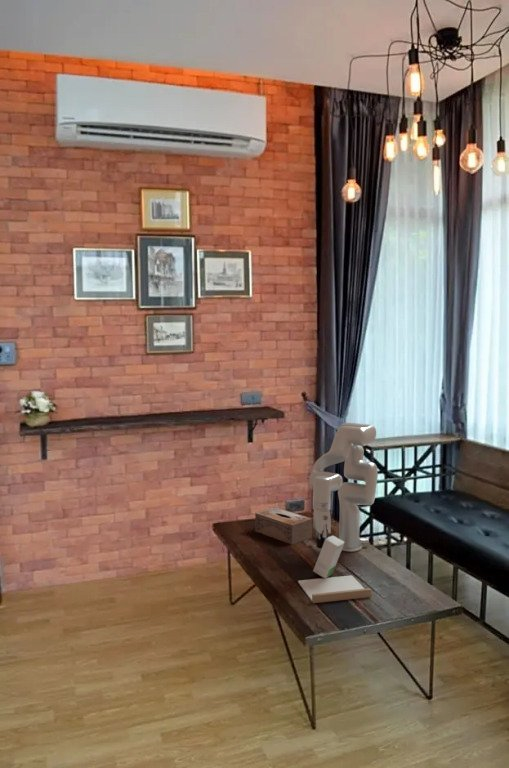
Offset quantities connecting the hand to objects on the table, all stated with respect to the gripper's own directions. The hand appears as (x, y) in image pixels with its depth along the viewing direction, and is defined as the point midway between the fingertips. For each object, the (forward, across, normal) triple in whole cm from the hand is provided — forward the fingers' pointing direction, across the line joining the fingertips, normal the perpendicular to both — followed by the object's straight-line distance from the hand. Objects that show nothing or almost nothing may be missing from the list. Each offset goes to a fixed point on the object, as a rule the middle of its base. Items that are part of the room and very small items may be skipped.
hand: (320, 547), depth 256 cm
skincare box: (+11, -2, 0) cm, 11 cm away
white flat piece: (+12, -14, 0) cm, 19 cm away
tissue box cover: (+12, +51, +2) cm, 52 cm away
